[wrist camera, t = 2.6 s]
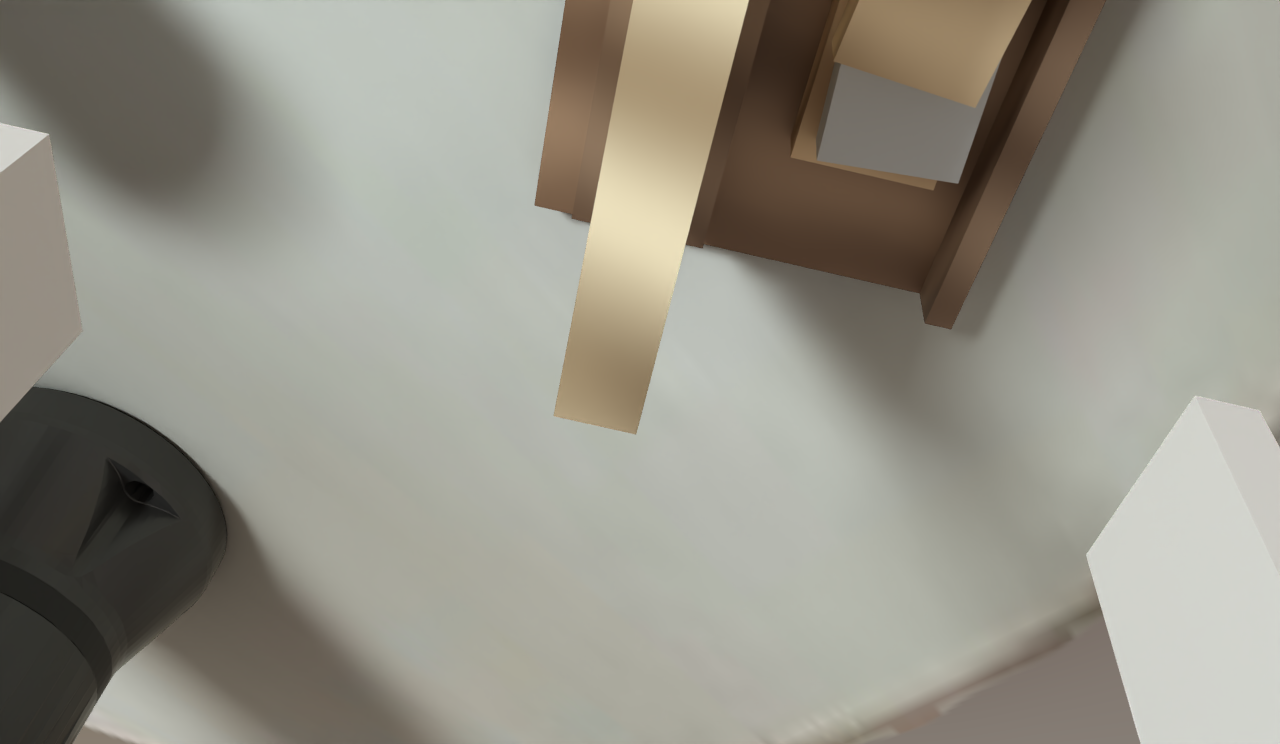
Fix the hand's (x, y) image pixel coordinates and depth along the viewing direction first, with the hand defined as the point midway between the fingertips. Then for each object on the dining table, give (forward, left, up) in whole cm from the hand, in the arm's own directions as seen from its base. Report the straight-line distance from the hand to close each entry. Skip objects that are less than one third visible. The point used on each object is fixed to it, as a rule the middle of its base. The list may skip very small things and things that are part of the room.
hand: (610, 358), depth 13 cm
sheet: (0, 0, -25) cm, 25 cm away
